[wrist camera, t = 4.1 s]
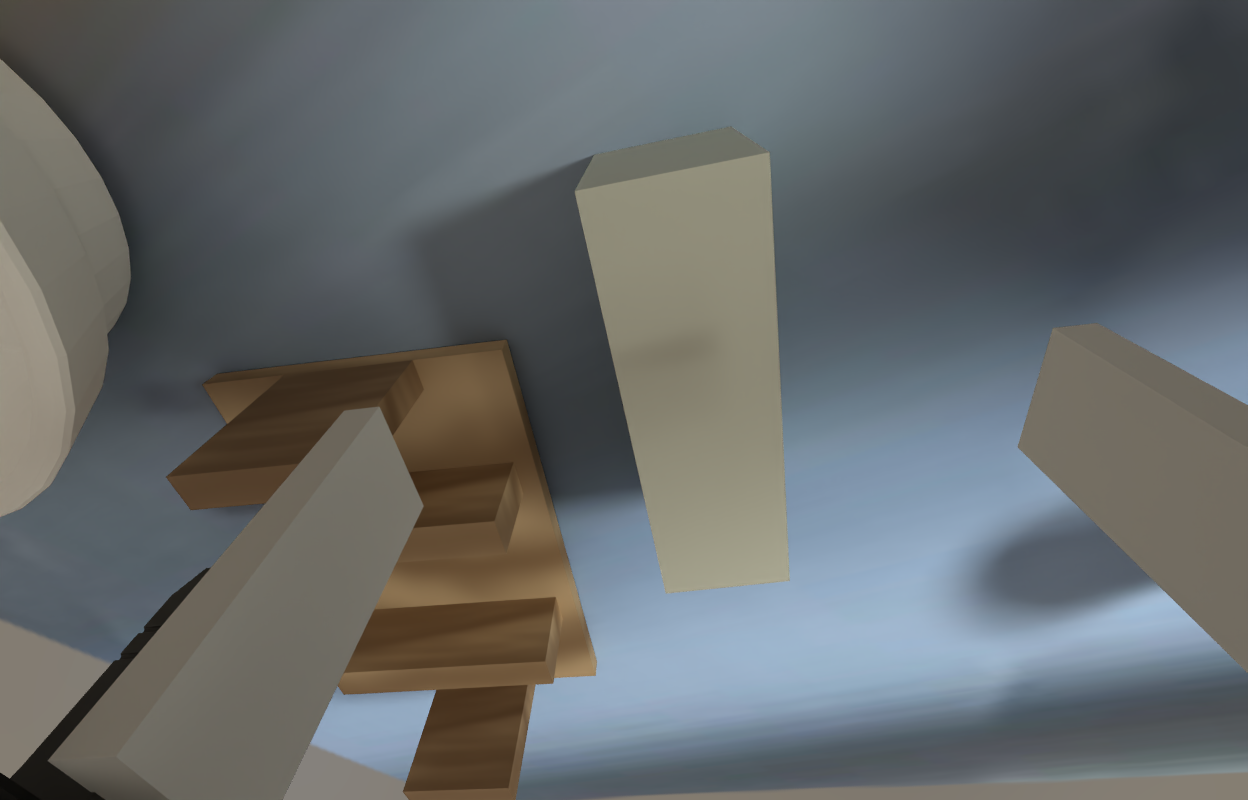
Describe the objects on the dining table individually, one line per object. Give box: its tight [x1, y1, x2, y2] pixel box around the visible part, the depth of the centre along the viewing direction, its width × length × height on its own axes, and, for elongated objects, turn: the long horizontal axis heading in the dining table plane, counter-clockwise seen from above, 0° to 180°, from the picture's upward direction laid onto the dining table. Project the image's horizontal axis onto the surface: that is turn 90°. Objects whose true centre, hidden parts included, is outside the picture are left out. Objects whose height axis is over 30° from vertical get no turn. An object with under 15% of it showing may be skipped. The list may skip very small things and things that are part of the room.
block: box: [575, 126, 790, 593], centre depth 21 cm, size 16×5×7 cm, turn 11°
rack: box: [166, 340, 597, 800], centre depth 27 cm, size 24×14×8 cm, turn 8°
